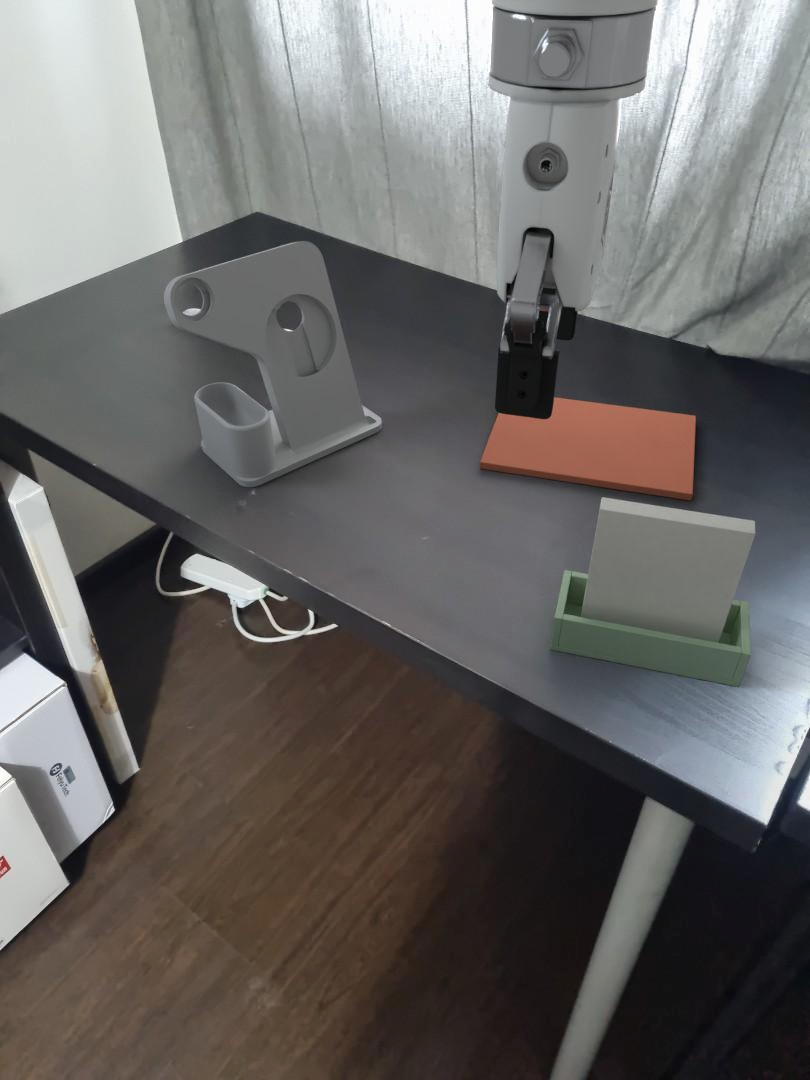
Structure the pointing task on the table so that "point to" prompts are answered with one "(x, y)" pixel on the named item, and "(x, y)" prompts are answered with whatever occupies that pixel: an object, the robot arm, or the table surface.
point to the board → (665, 568)
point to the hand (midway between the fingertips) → (537, 372)
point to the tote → (651, 640)
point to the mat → (598, 447)
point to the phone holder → (274, 364)
